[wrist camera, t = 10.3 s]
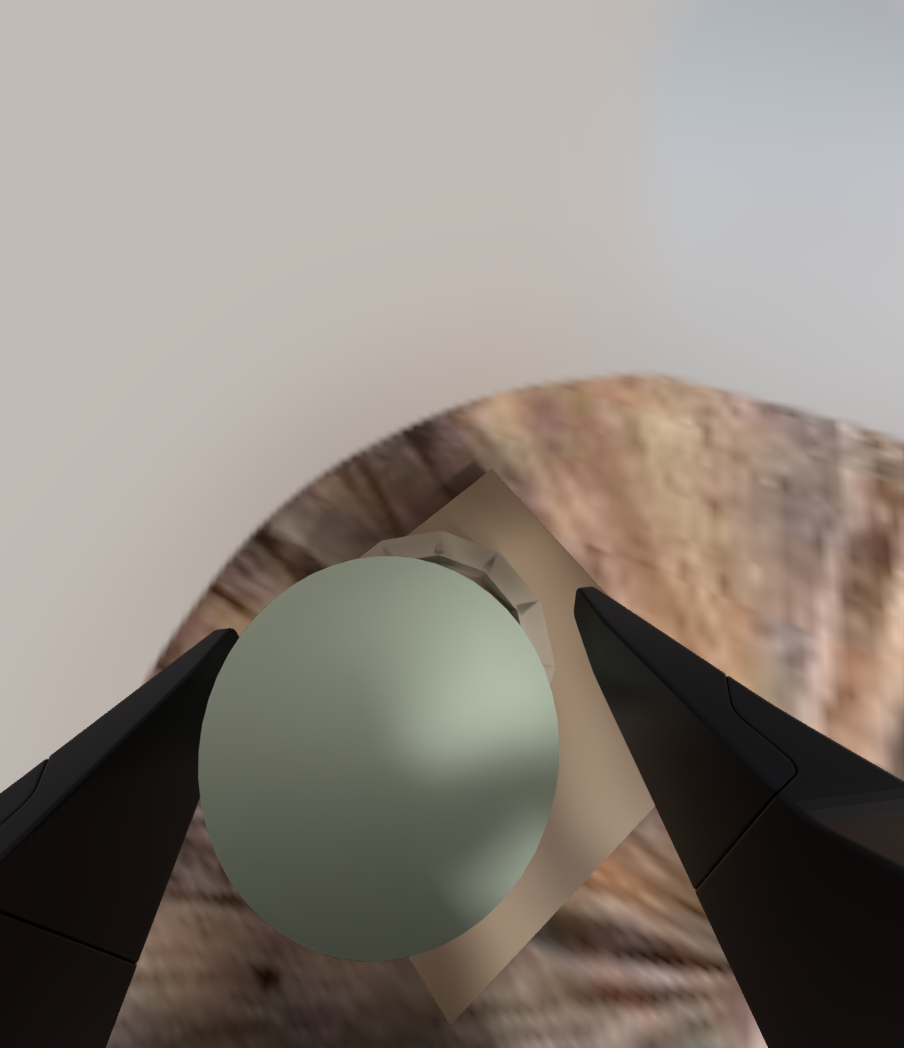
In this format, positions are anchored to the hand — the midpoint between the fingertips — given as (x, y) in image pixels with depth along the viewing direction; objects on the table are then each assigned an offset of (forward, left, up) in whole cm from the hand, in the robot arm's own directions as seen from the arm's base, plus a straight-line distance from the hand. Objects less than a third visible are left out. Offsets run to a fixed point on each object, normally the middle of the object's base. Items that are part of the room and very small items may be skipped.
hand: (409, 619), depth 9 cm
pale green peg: (-1, -1, -8) cm, 8 cm away
